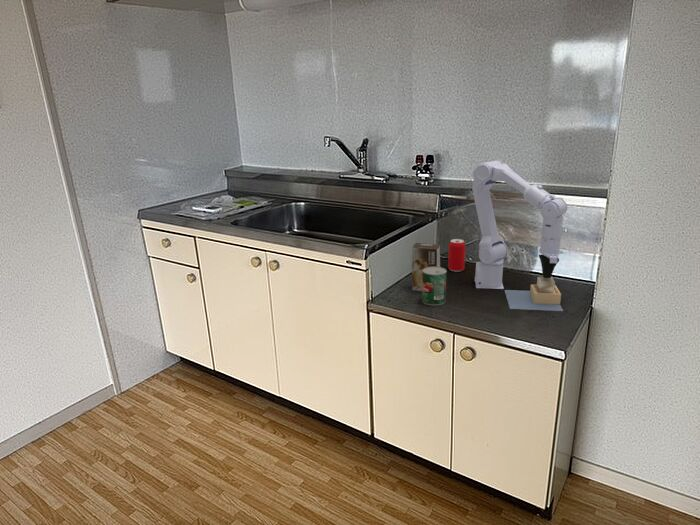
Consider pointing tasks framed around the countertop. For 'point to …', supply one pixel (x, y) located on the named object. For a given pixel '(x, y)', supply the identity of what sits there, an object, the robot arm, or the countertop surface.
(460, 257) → the beverage can
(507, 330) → the countertop surface
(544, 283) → the cream block
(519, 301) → the board
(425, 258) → the coffee box
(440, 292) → the canned tomato
